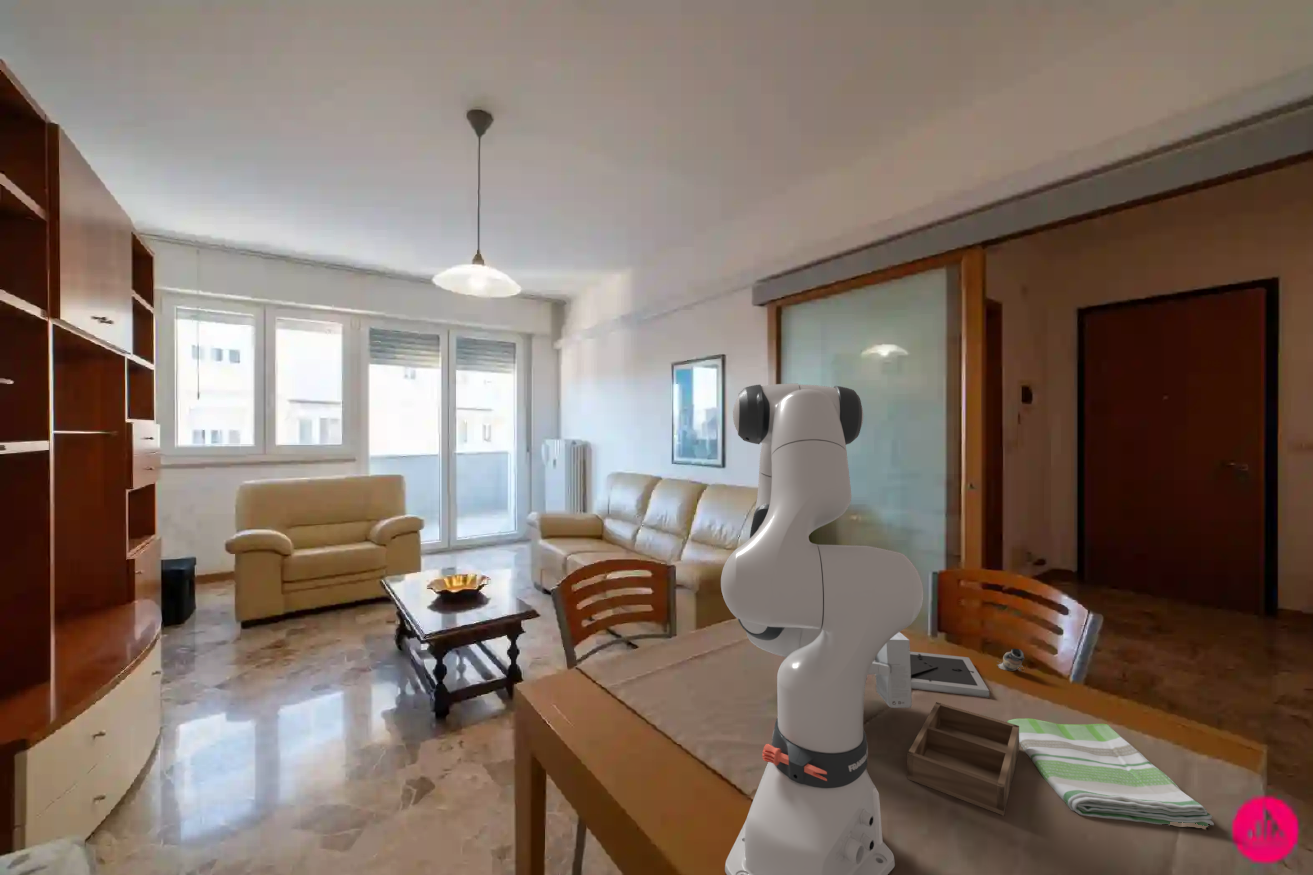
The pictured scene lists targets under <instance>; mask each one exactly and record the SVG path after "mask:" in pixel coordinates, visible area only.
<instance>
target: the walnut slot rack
mask: <svg viewBox="0 0 1313 875" xmlns="http://www.w3.org/2000/svg"><path fill="white" fill-rule="evenodd" d="M1019 752H1020V743H1019V726H1018V725H1015V724H1011V723H1008V722H1007V721H1004V720H1000V719H996V718H993V717H990V716H986V715H983V714H980V713H976V712H972V711H969V710H967V709H966V710H965V709H962V708H958V707H955V706H951V705H949V704H945V703H941V702H938V701H936V702H935V703H934V705H933V707H932V709H931V710H930V713H929V714H928V716H927V718H926V720H925V721H924V722H923V725H922V727H921V729H920V730H919V732H918V733H917V735H916V737H915V739H914V740H913V742H912V744H911V746H910V748H909V749H908V751H907V753H906V756H907V757H906V759H907V760H906V764H907V770H906V771H907V774H906V776H907V777H906V778H907V780H909V781H912V782H914V783H918V784H919V785H922V786H925V787H928V788H930V789H933V790H935V791H938V792H940V793H943V794H946V795H948V796H950V797H953V798H956V799H959V800H962V801H964V802H967V803H970V804H972V805H975V806H977V807H980V808H982V809H985V810H988V811H991V812H992V813H995V814H997V815H1000V816H1005V813H1006V807H1007V804H1008V800H1009V795H1010V791H1011V786H1012V782H1013V778H1014V774H1015V769H1016V766H1017V761H1018V757H1019V754H1020V753H1019Z"/></svg>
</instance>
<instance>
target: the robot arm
mask: <svg viewBox="0 0 1313 875" xmlns="http://www.w3.org/2000/svg"><path fill="white" fill-rule="evenodd" d="M732 420H733V424H734V427H735V430H736V432H737V435H738V437H739V438H741V439H742V440H743V441H744V442H747V443H751V444H755V445H760V444H761V448H760V456H759V469H758V471H759V472H758V487H757V494H756V495H757V496H756V503H755V507H754V508H755V509H754V512H753V515H752V516H753V517H752V521H751V527H750V533H749V539H748V540H747V541H746V542H744V543H743V544H742V545H740V546H738V547H737V548H735V550H733V551H732V553H730V555H729V557H727V559H726V561H725V563H724V565H723V568H722V572H721V577H720V588H721V593H722V596H723V597H722V598H723V600H724V602H725V605H726V606H727V608H728V609H729V611H730V613H731V614H732V615H733V616H734V617H735V619H737V621H738V623H739V625H740V627H741V628H742V629H743V630H744V631H745V632H746V636H747V638H748V641H750V643H751V644H752V645H754V646H755V647H757V648H759V649H760V650H763V651H765V652H768V653H771V654H773V655H775V656H780V657H784V658H785V659H784V660H782V662H781V664H780V666H779V668H778V671H777V674H776V683H777V684H776V685H777V686H776V690H777V691H776V692H777V693H776V694H777V698H776V699H777V718H776V720H775V723H774V729H773V731H772V735H771V744H769V743H766V744H765V745H764V747H763V750H762V755H761V756H762V760H763V761H764V762H766V763H767V765H766V767H765V769H764V772H763V774H762V777H761V779H760V781H759V784H758V787H757V790H756V792H755V793H754V794H755V795H754V797H753V800H752V802H751V805H750V807H749V810H748V814H747V817H746V819H745V822H744V824H743V825H742V827H741V829H740V831H739V833H738V836H737V837H736V839H735V842H734V844H733V845H732V847H731V850H730V852H729V854H728V855H727V858H726V860H725V865H724V872H725V874H726V875H888V874H890V873H891V871H892V870H893V869H894V868H895V866H896V863H895V856H894V853H893V851H892V850H891V849H890V848H889V847H888V846H887V845H886V843H885V842H884V841H883V832H882V831H883V828H882V816H881V804H880V802H881V801H880V794H879V791H878V790H877V787H876V785H875V784H874V782H873V781H872V778H871V777H870V775H869V773H868V770H867V766H868V755H869V747H868V745H869V744H868V742H867V739H868V738H867V734H866V732H865V730H864V709H865V708H864V705H865V690H866V684H867V678H868V675H875V674H880V675H884V676H889V675H890V674H891V672H892V670H891V669H892V666H891V664H889V663H885V662H882V661H881V662H880V663H877V662H873V661H874V660H875V657H876V656H877V654H878V653H879V651H880V650H881V649H882V647H883V646H884V645H885V644H886V643H887V642H888V641H889V640H890V639H891V638H892V637H893V636H894V635H896V634H897V633H898V632H900V633H901V631H903V630H905V629H906V628H908V627H910V626H911V625H912V624H913V623H914V622H915V620H917V617H918V616H919V613H920V612H921V610H922V606H923V601H924V588H923V586H924V585H923V582H922V579H921V576H920V573H919V571H918V570H917V568H916V566H915V565H914V564H913V563H912V561H911V560H910V559H909V558H908V557H907V556H906V555H905V554H904V553H902V552H898V551H894V550H891V549H890V550H889V549H885V548H880V547H875V546H870V545H857V544H855V545H849V544H847V545H845V544H817V543H813V542H811V541H810V538H809V536H810V535H811V533H813V532H814V531H816V530H818V529H819V528H821V527H824V526H826V525H828V524H830V523H832V522H833V521H835V520H837V519H838V518H840V517H841V516H843V515H844V514H845V513H846V511H847V510H848V508H849V506H850V505H851V501H852V488H851V487H852V486H851V479H850V478H851V477H850V471H849V468H850V467H849V463H848V462H849V461H848V452H847V451H848V450H847V445H850V444H852V443H853V442H854V441H855V440H856V439H857V438H858V437H859V435H860V434H861V429H862V426H863V422H864V409H863V405H862V400H861V398H860V395H858V394H857V392H856V391H855V390H854V389H852V388H849V387H844V386H840V385H839V386H838V385H834V386H825V385H819V384H818V385H817V384H816V385H815V384H801V383H800V384H799V383H776V384H768V385H761V384H754V385H749V386H746V387H744V388H742V389H741V391H739V393H738V396H737V398H736V400H735V402H734V405H733V410H732Z"/></svg>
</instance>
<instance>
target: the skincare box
mask: <svg viewBox="0 0 1313 875" xmlns="http://www.w3.org/2000/svg"><path fill="white" fill-rule="evenodd" d="M910 644H911V643H910V639H909V638H908V637H906V636H905V635H904V634H903V633H901V631H900V632H898V633H897V634H896V635H894V636H893V637H892V638H891V639H890V640H889V641H888V642H887V643H886V644H885V645H884V646H883V647H882V649H881V650H880V651H879V653H878V654H877V656H876V657H875V662H877V663H880V662H881V661H882V662H885V663H889V664H891V666H892V669H891V670H892V672H891V674H890V675H889V676H884V675H880V674H876V675H875V687H876V689H875V690H876V693H877V694H878V695H879V696H880V698H881V699H883V701H884V702H885V703H886V705H887V706H888V707H889V708H892V709H900V708H901V709H909V708H910V709H911V708H912V706H913V703H912V701H913V698H912V695H913V694H912V688H911V667H910V652H911V651H910V650H911V646H910Z"/></svg>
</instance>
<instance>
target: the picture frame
mask: <svg viewBox="0 0 1313 875" xmlns="http://www.w3.org/2000/svg"><path fill="white" fill-rule="evenodd" d="M873 662H875V660H874V661H873ZM910 667H911V689H914V690H923V691H929V692H930V691H931V692H939V693H940V692H941V693H946V694H957V695H963V696H973V697H979V698H980V697H981V698H990V690H989V688H988V686H987V685H986V683H985V682H984V680H983V678H982V676H981V675H980V673H979V672H978V670H977V668H976V667H975V665H974V664H973V662H972V660H971V659H970V657H969V656H968V657H967V656H958V655H949V654H941V653H940V654H939V653H928V652H917V651H910ZM874 676H876V674H874Z"/></svg>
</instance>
